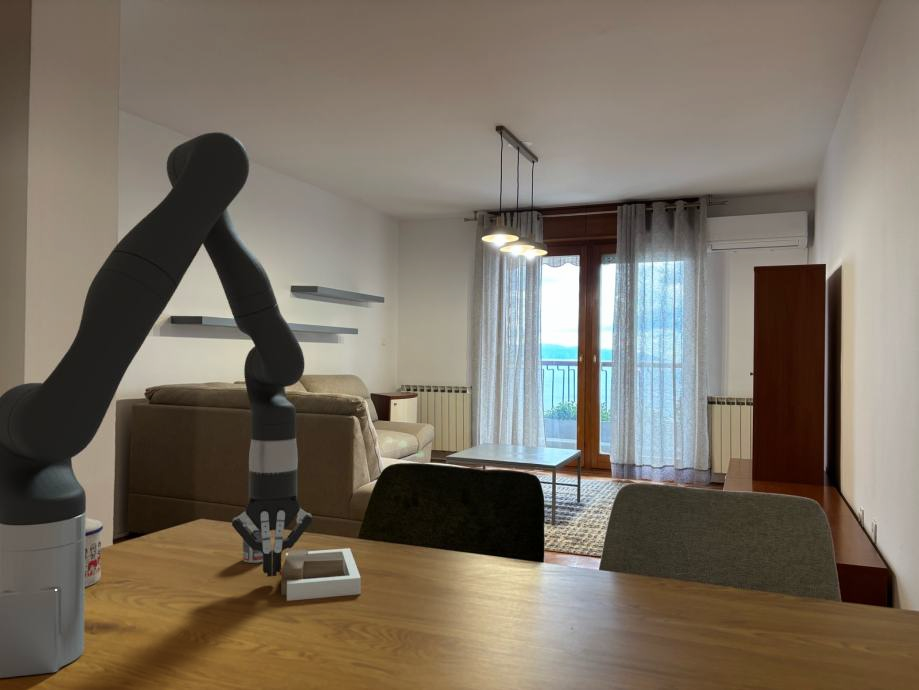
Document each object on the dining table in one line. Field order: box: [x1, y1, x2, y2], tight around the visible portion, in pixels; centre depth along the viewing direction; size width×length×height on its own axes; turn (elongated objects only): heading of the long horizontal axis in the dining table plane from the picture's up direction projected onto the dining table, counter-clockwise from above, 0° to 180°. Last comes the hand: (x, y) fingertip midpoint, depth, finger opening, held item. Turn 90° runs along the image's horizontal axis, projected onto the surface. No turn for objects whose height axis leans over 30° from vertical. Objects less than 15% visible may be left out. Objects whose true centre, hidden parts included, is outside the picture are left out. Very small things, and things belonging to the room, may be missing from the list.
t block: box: [280, 548, 344, 596], centre depth 107 cm, size 10×9×4 cm
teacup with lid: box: [85, 517, 104, 588], centre depth 108 cm, size 12×9×12 cm
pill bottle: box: [242, 517, 263, 564], centre depth 119 cm, size 5×5×8 cm
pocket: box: [285, 547, 362, 602], centre depth 109 cm, size 16×11×2 cm
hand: (272, 574), depth 107 cm, fingers closed
